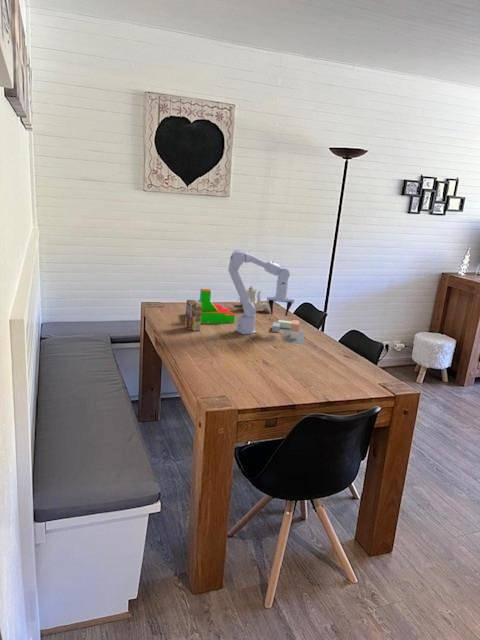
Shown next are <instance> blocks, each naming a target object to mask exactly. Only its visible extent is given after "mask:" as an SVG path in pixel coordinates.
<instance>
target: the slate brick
mask: <svg viewBox="0 0 480 640" xmlns="http://www.w3.org/2000/svg"><path fill="white" fill-rule="evenodd" d="M271 328H272V329H271V332H272V333H273V332H274V333H280V330H281V328H280V323H278V321H277V322H275V321H274V322H272V327H271Z"/></svg>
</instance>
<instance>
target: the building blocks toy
mask: <svg viewBox="0 0 480 640" xmlns="http://www.w3.org/2000/svg"><path fill="white" fill-rule="evenodd" d="M199 292H200V293H199V299H198V300H197V301H198V302H201V303H202V310H201V322H209V323H208V324H212V323H225V322H230V324H234V323H235V313H234V312H232V309H231V308H223V307H222V305H221V304H213V302H212V301H211V295H212V294H211V292H212V291H211V289H210V288H209V289H208V288H206V289H205V288H200V291H199ZM225 324H226V323H225Z"/></svg>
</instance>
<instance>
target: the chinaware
mask: <svg viewBox="0 0 480 640" xmlns="http://www.w3.org/2000/svg"><path fill="white" fill-rule="evenodd" d="M245 289H246V292H247V294H248V296H249V299H250V301H251V302H252V303H253V304H254V306H255V308H256V311H257V310H258V309H259V308H261V309H262V310H263V312H264V311H265V312H264V313H271V309H270V305H269V302H266V301H265V302H264V301H263V302H262V299H261V293H262V291H258V292H257V289H256V288H255V287H254V286H253V285H250V287H249V288H245ZM256 293H257V295H256ZM256 298H257V299H256ZM236 301H237V303H238V304H240V305H241V308H242V309H243V304H242V301H241V299H240V296H239V297H238V299H237V300H236ZM239 301H240V302H239ZM273 307H275V303H273Z"/></svg>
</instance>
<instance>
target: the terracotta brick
mask: <svg viewBox="0 0 480 640" xmlns="http://www.w3.org/2000/svg"><path fill="white" fill-rule="evenodd" d="M291 321H292V323H291V329H290V331H293V332H300V320H297V319H291Z"/></svg>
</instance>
